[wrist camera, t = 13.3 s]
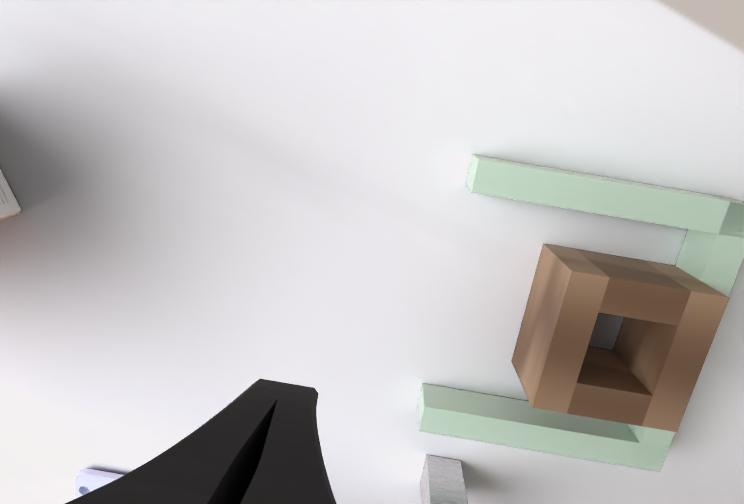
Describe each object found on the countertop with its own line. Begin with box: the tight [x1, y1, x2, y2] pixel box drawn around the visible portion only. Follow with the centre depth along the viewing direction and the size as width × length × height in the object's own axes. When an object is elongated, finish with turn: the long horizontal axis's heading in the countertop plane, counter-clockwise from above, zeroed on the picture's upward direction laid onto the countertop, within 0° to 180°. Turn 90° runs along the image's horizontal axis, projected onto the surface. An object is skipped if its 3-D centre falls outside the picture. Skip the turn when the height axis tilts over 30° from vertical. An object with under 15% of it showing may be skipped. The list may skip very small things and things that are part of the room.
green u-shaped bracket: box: [417, 155, 744, 472], centre depth 20 cm, size 11×10×2 cm
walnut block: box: [512, 244, 729, 432], centre depth 19 cm, size 5×5×4 cm
